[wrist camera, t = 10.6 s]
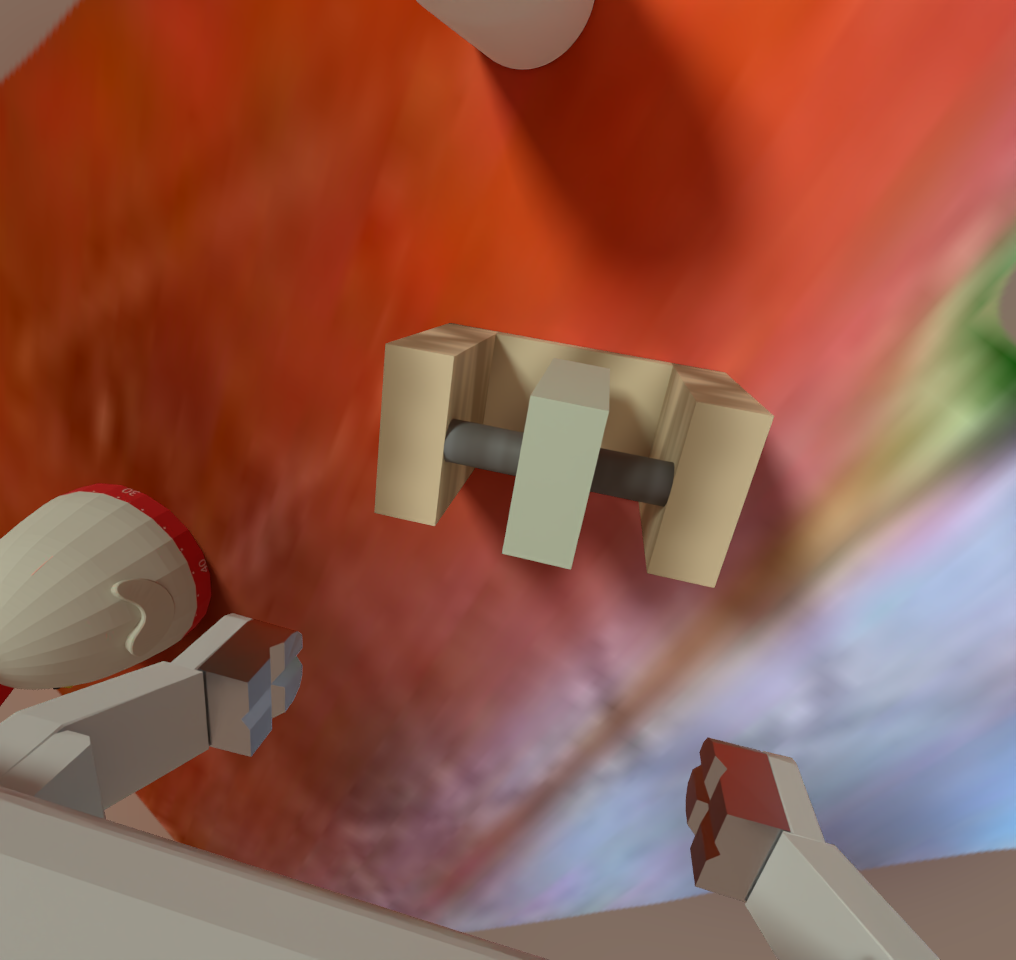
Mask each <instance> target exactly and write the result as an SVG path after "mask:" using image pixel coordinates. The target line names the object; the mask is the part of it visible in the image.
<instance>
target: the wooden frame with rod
mask: <svg viewBox="0 0 1016 960" xmlns="http://www.w3.org/2000/svg"><path fill="white" fill-rule="evenodd" d="M553 358H558V359H563V360H568V361H573V362H578V363H583V364H588V365H593V366H599V367H604V368H609V369H610V393H609V413H608V418H607V422H606V426H605V430H604V434H603V438H602V443H601V447H600V451H599V455H598V459H597V463H596V467H595V472H594V476H593V480H592V484H591V488H590V492H595V493H600V494H605V495H609V496H614V497H619V498H624V499H629V500H633V501H638V502H639V509H640V517H641V526H642V534H643V543H644V551H645V559H646V568H647V573H649V574H653V575H658V576H662V577H667V578H671V579H676V580H680V581H685V582H690V583H694V584H699V585H703V586H708V587H712V588H715V585H716V582H717V579H718V576H719V573H720V570H721V568H722V565H723V562H724V559H725V556H726V553H727V550H728V547H729V545H730V542H731V539H732V536H733V533H734V530H735V527H736V524H737V522H738V519H739V516H740V513H741V510H742V507H743V504H744V501H745V498H746V496H747V493H748V490H749V487H750V484H751V481H752V478H753V475H754V473H755V470H756V467H757V464H758V461H759V458H760V455H761V452H762V450H763V447H764V444H765V441H766V438H767V435H768V432H769V429H770V427H771V424H772V421H773V418H774V416H773V415H772V414H771V413H770V412H769V411H768V410H767V409H765V408H764V407H763V406H762V405H761V404H760V403H759V402H758V401H756V400H755V399H754V398H753V397H752V396H751V395H750V394H749V393H747V392H746V391H745V390H744V389H743V388H742V387H741V386H740V385H738V384H737V383H736V382H735V381H734V380H733V379H732V378H731V377H729V376H728V375H727V374H726V373H724V372H719V371H713V370H708V369H702V368H696V367H691V366H685V365H680V364H674V363H669V362H663V361H658V360H652V359H646V358H641V357H635V356H630V355H624V354H619V353H613V352H608V351H602V350H596V349H591V348H585V347H580V346H574V345H569V344H563V343H558V342H552V341H546V340H541V339H535V338H530V337H524V336H519V335H513V334H508V333H502V332H496V331H491V330H485V329H480V328H474V327H469V326H463V325H458V324H452V323H449V324H445V325H442V326H439V327H436V328H433V329H430V330H427V331H424V332H421V333H417V334H414V335H411V336H408V337H405V338H402V339H399V340H396V341H393V342H389V343H386V346H385V361H384V376H383V391H382V407H381V422H380V437H379V452H378V467H377V483H376V498H375V513H378V514H382V515H387V516H391V517H396V518H400V519H405V520H409V521H414V522H419V523H423V524H428V525H432V526H435V525H436V524H437V522H438V521H439V519H440V518H441V517H442V515H443V514H444V512H445V511H446V509H447V508H448V506H449V505H450V503H451V502H452V501H453V499H454V498H455V496H456V495H457V493H458V492H459V490H460V489H461V488H462V486H463V485H464V483H465V482H466V480H467V479H468V477H469V476H470V475H471V473H472V472H473V470H474V469H475V468H480V469H484V470H489V471H494V472H499V473H504V474H508V475H513V476H516V473H517V468H518V462H519V457H520V451H521V446H522V440H523V434H524V429H525V423H526V418H527V412H528V407H529V401H530V396H531V394H532V392H533V391H534V389H535V387H536V386H537V384H538V383H539V381H540V379H541V378H542V376H543V375H544V373H545V371H546V370H547V368H548V367H549V365H550V363H551V362H552V360H553Z"/></svg>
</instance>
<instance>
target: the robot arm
mask: <svg viewBox="0 0 1016 960" xmlns="http://www.w3.org/2000/svg"><path fill="white" fill-rule="evenodd" d="M301 649H302V634H300V633H299V632H298V631H295V630H291V629H288V628H284V627H281V626H277V625H274V624H270V623H267V622H263V621H260V620H257V619H251V618H247V617H244V616H241V615H237V614H234V613H231V614H228V615H225V616H224V617H222V618H221V619H220V620H219V621H218V622H217V623H216V624H214V625H213V626H212V627H211V628H210V629H209V630H208V631H206V632H205V633H204V634H203V635H202V636H201V637H199V638H198V639H197V640H196V641H195V642H194V643H193V644H191V645H190V646H189V647H188V648H187V649H186V650H185V651H183V652H182V653H181V654H180V655H179V656H178V657H177V658H175V659H174V660H173V661H172V662H171V663H169V662H165V661H162V662H159V663H156V664H153V665H151V666H148V667H145V668H142V669H139V670H136V671H133V672H130V673H127V674H124V675H122V676H119V677H116V678H113V679H110V680H107V681H104V682H101V683H98V684H95V685H93V686H90V687H87V688H84V689H81V690H78V691H75V692H72V693H69V694H66V695H64V696H61V697H58V698H55V699H52V700H49V701H46V702H43V703H40V704H37V705H35V706H32V707H29V708H26V709H23V710H20V711H17V712H15V713H14V714H12V715H11V716H10V717H8V718H7V719H6V720H4V721H3V722H2V723H0V960H548V959H545V958H542V957H539V956H535V955H532V954H529V953H526V952H523V951H520V950H516V949H513V948H510V947H507V946H504V945H501V944H497V943H494V942H491V941H488V940H485V939H481V938H478V937H475V936H472V935H469V934H466V933H463V932H459V931H456V930H453V929H450V928H447V927H444V926H440V925H437V924H434V923H431V922H428V921H425V920H422V919H418V918H415V917H412V916H409V915H406V914H403V913H400V912H396V911H393V910H390V909H387V908H384V907H381V906H378V905H374V904H371V903H368V902H365V901H362V900H359V899H356V898H352V897H349V896H346V895H343V894H340V893H337V892H333V891H330V890H327V889H324V888H321V887H318V886H315V885H311V884H308V883H305V882H302V881H299V880H296V879H293V878H289V877H286V876H283V875H280V874H277V873H274V872H270V871H267V870H264V869H261V868H258V867H255V866H251V865H248V864H245V863H242V862H239V861H236V860H233V859H229V858H226V857H223V856H220V855H217V854H214V853H210V852H207V851H204V850H201V849H198V848H195V847H191V846H188V845H185V844H182V843H179V842H176V841H172V840H169V839H166V838H163V837H160V836H157V835H154V834H150V833H147V832H144V831H141V830H137V829H135V828H131V827H128V826H125V825H122V824H119V823H115V822H112V821H109V820H106V817H105V812H104V810H105V809H107V808H109V807H110V806H112V805H114V804H116V803H117V802H119V801H121V800H122V799H124V798H126V797H127V796H129V795H131V794H132V793H134V792H136V791H138V790H139V789H141V788H143V787H145V786H146V785H148V784H150V783H151V782H153V781H155V780H156V779H158V778H160V777H162V776H163V775H165V774H167V773H168V772H170V771H172V770H174V769H175V768H177V767H179V766H180V765H182V764H184V763H185V762H187V761H189V760H191V759H192V758H194V757H196V756H197V755H199V754H201V753H202V752H204V751H206V750H208V749H209V746H211V747H215V748H219V749H222V750H226V751H230V752H234V753H238V754H242V755H246V756H250V757H251V756H252V755H253V753H254V752H255V751H256V750H257V748H258V747H259V746H260V744H261V743H262V742H263V740H264V739H265V738H266V736H267V735H268V734H269V732H270V731H271V730H272V718H273V717H276V716H278V715H280V714H282V713H284V712H285V711H286V710H287V708H288V707H289V706H290V704H291V703H292V701H293V700H294V698H295V695H296V693H297V691H298V689H299V686H300V682H301V677H302V664H301V663H300V661H299V660H298V658H297V656H296V655H297V654H298V653H299V651H300V650H301ZM700 758H701V765H700V766H698V767H696V768H695V769H693V770H692V773H691V776H690V779H689V782H688V787H687V794H686V817H687V824H688V826H689V827H690V829H691V830H692V831H693V833H694V834H695V838H694V840H693V843H692V845H691V848H690V850H691V858H692V865H693V873H694V881H695V886H696V887H699V888H702V889H705V890H708V891H711V892H715V893H718V894H721V895H724V896H727V897H730V898H733V899H737V900H740V901H743V902H746V904H745V906H746V907H747V909H748V911H749V912H750V914H751V916H752V917H753V919H754V921H755V922H756V924H757V926H758V927H759V929H760V931H761V932H762V934H763V936H764V937H765V939H766V941H767V942H768V944H769V946H770V947H771V949H772V951H773V952H774V954H775V956H776V957H777V959H778V960H940V959H939V958H938V956H937V955H936V954H935V953H934V952H933V951H932V950H931V949H930V948H929V947H928V946H927V945H926V943H924V941H923V940H922V939H921V938H920V937H919V936H918V935H917V934H916V933H915V932H914V931H913V929H912V928H911V927H910V926H909V925H908V924H907V923H906V922H905V921H904V920H903V919H902V918H901V917H900V915H899V914H898V913H897V912H896V911H895V910H894V909H893V908H892V907H891V906H890V905H889V904H888V902H886V900H885V899H884V898H883V897H882V896H881V895H880V894H879V893H878V892H877V891H876V890H875V888H874V887H873V886H872V885H871V884H870V883H869V882H868V881H867V880H866V879H865V878H864V877H863V875H861V873H860V872H859V871H858V870H857V869H856V868H855V867H854V866H853V865H852V864H851V863H850V861H849V860H848V859H847V858H846V857H845V856H844V855H843V854H842V853H841V852H840V851H839V850H838V848H837V847H836V846H835V845H832V844H828V843H826V842H825V840H824V837H823V834H822V832H821V829H820V826H819V823H818V821H817V818H816V815H815V813H814V810H813V807H812V804H811V802H810V799H809V796H808V794H807V791H806V788H805V785H804V783H803V780H802V777H801V775H800V772H799V769H798V766H797V764H796V762H795V761H794V760H793V759H792V758H790V757H786V756H781V755H777V754H773V753H769V752H765V751H763V752H762V751H760V750H756V749H752V748H748V747H744V746H740V745H736V744H732V743H728V742H724V741H720V740H716V739H712V738H707V739H706V740H705V741H704V743H703V745H702V747H701V750H700Z"/></svg>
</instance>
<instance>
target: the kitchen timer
mask: <svg viewBox="0 0 1016 960" xmlns="http://www.w3.org/2000/svg"><path fill="white" fill-rule="evenodd" d="M210 599H211V581H210V573H209V570H208V567H207V564H206V561H205V558H204V555H203V552H202V550H201V549H200V547H199V546H198V544H197V543H196V541H195V539H194V538H193V536H192V535H191V533H190V532H189V530H188V529H187V528H186V527H185V526H184V525H183V524H182V523H181V522H180V521H179V520H178V519H177V518H176V517H175V515H174V514H173V513H172V512H171V511H170V510H169V509H167V508H166V507H164V506H163V505H161V504H159V503H158V502H156V501H155V500H153V499H152V498H150V497H149V496H147V495H146V494H143V493H141V492H138V491H135V490H133V489H130V488H127V487H125V486H122V485H112V484H101V483H98V484H94V485H90V486H85V487H81V488H78V489H75V490H73V491H70V492H68V493H66V494H63V495H61V496H58V497H57V498H55V499H53V500H51V501H49V502H48V503H46V504H45V505H43V506H42V507H40V508H39V509H38V510H36V511H35V512H34V513H32V514H31V515H30V516H28V517H27V518H26V519H24V520H23V521H22V522H20V523H19V524H18V525H17V526H16V527H14V528H13V529H12V530H11V531H10V532H8V533H7V534H6V535H5V536H4V537H3V538H2V539H0V706H1V705H2V703H3V702H4V701H5V699H6V698H7V697H8V695H9V694H10V693H11V692H12V690H13V689H14V688H17V689H32V690H36V689H50V688H53V689H60V687H65V688H70V687H72V686H73V685H78V684H83V683H88V682H92V681H95V680H99V679H102V678H105V677H108V676H110V675H112V674H115V673H117V672H120V671H122V670H124V669H127V668H129V667H131V666H133V665H136V664H138V663H140V662H142V661H144V660H146V659H148V658H150V657H152V656H154V655H156V654H158V653H160V652H162V651H164V650H165V649H167V648H169V647H170V646H172V645H174V644H175V643H177V642H178V641H180V640H181V639H182V638H183V637H185V636H186V635H187V634H188V633H189V632H190V631H192V630H193V629H194V628H195V627H196V626H197V624H198V623H199V622H200V621H201V619H202V618H203V617H204V616H205V615H206V612H207V609H208V605H209V602H210Z"/></svg>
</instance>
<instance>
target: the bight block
mask: <svg viewBox="0 0 1016 960" xmlns="http://www.w3.org/2000/svg"><path fill="white" fill-rule="evenodd" d="M609 393H610V369H609V368H604V367H599V366H593V365H588V364H583V363H578V362H573V361H568V360H563V359H558V358H553V360H552V362H551V363H550V365H549V367H548V368H547V370H546V371H545V373H544V375H543V376H542V378H541V379H540V381H539V383H538V384H537V386H536V387H535V389H534V391H533V392H532V394H531V396H530V401H529V407H528V412H527V418H526V423H525V429H524V434H523V440H522V446H521V451H520V457H519V462H518V468H517V473H516V479H515V484H514V490H513V495H512V501H511V506H510V512H509V518H508V523H507V529H506V534H505V540H504V545H503V551H502V554H506V555H511V556H515V557H519V558H523V559H528V560H532V561H536V562H540V563H545V564H549V565H553V566H558V567H562V568H566V569H570V570H571V567H572V563H573V559H574V555H575V550H576V546H577V542H578V538H579V534H580V530H581V526H582V521H583V517H584V513H585V509H586V505H587V501H588V496H589V492H590V488H591V484H592V480H593V476H594V472H595V467H596V463H597V459H598V455H599V451H600V447H601V443H602V438H603V434H604V430H605V426H606V422H607V418H608V413H609Z"/></svg>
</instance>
